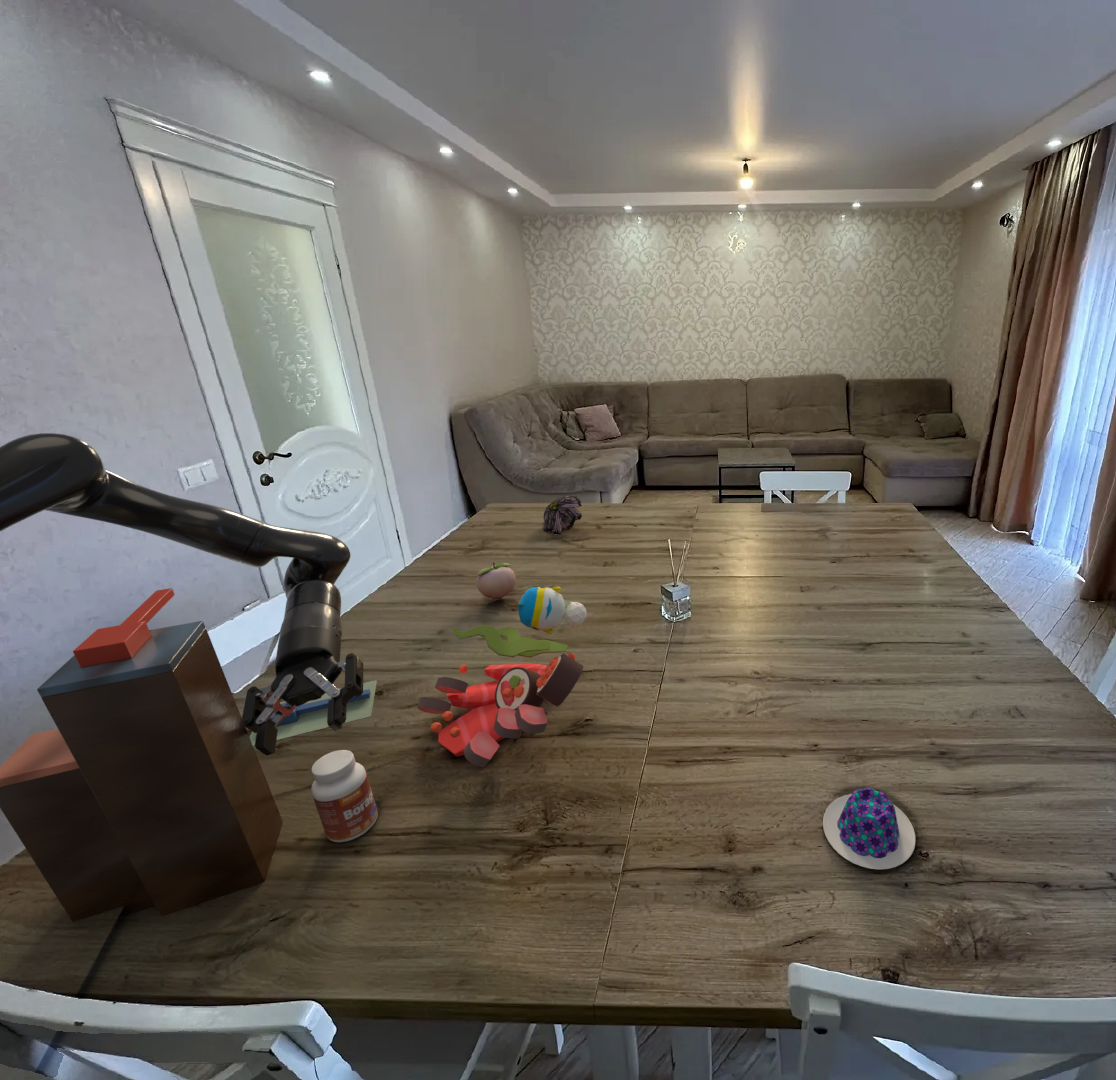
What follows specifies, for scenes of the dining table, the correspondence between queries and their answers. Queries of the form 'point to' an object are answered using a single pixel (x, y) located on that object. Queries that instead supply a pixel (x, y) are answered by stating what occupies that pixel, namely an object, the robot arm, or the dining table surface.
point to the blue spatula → (315, 707)
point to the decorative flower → (561, 514)
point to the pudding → (869, 830)
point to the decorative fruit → (496, 581)
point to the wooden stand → (142, 783)
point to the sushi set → (509, 681)
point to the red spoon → (122, 634)
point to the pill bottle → (343, 796)
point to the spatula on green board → (325, 716)
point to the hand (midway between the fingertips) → (300, 739)
